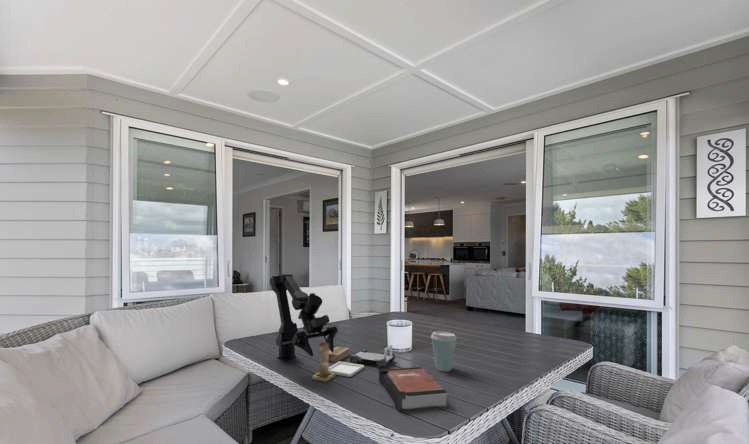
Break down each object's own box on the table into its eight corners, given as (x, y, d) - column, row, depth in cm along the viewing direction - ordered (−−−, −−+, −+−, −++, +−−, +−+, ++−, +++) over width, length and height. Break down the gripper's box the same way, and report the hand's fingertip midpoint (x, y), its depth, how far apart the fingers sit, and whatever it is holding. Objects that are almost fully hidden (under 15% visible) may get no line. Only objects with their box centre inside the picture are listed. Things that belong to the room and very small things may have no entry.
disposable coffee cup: (441, 363, 161) (440, 328, 162) (462, 369, 153) (461, 332, 154) (426, 369, 153) (425, 332, 155) (447, 375, 146) (447, 336, 147)
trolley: (349, 364, 160) (349, 346, 160) (362, 356, 171) (362, 340, 171) (384, 369, 153) (384, 350, 153) (395, 361, 164) (395, 344, 164)
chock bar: (323, 361, 165) (323, 353, 166) (336, 354, 176) (336, 346, 177) (337, 363, 163) (337, 355, 163) (349, 355, 174) (349, 348, 174)
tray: (324, 372, 149) (324, 369, 149) (339, 364, 160) (339, 361, 160) (350, 377, 144) (350, 374, 144) (364, 368, 155) (364, 365, 155)
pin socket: (312, 379, 142) (312, 376, 142) (321, 374, 147) (321, 371, 147) (326, 381, 139) (326, 378, 139) (335, 376, 145) (335, 373, 145)
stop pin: (317, 378, 142) (317, 344, 143) (322, 375, 146) (322, 342, 146) (325, 380, 141) (325, 345, 142) (330, 377, 144) (330, 343, 145)
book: (449, 407, 118) (449, 391, 118) (397, 412, 114) (397, 395, 114) (422, 378, 143) (422, 365, 144) (378, 382, 140) (378, 368, 140)
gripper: (295, 311, 144) (308, 345, 135) (335, 306, 156) (350, 338, 146) (286, 328, 150) (298, 362, 140) (326, 322, 161) (339, 354, 152)
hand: (322, 353), depth 144 cm, fingers open, 9 cm apart
